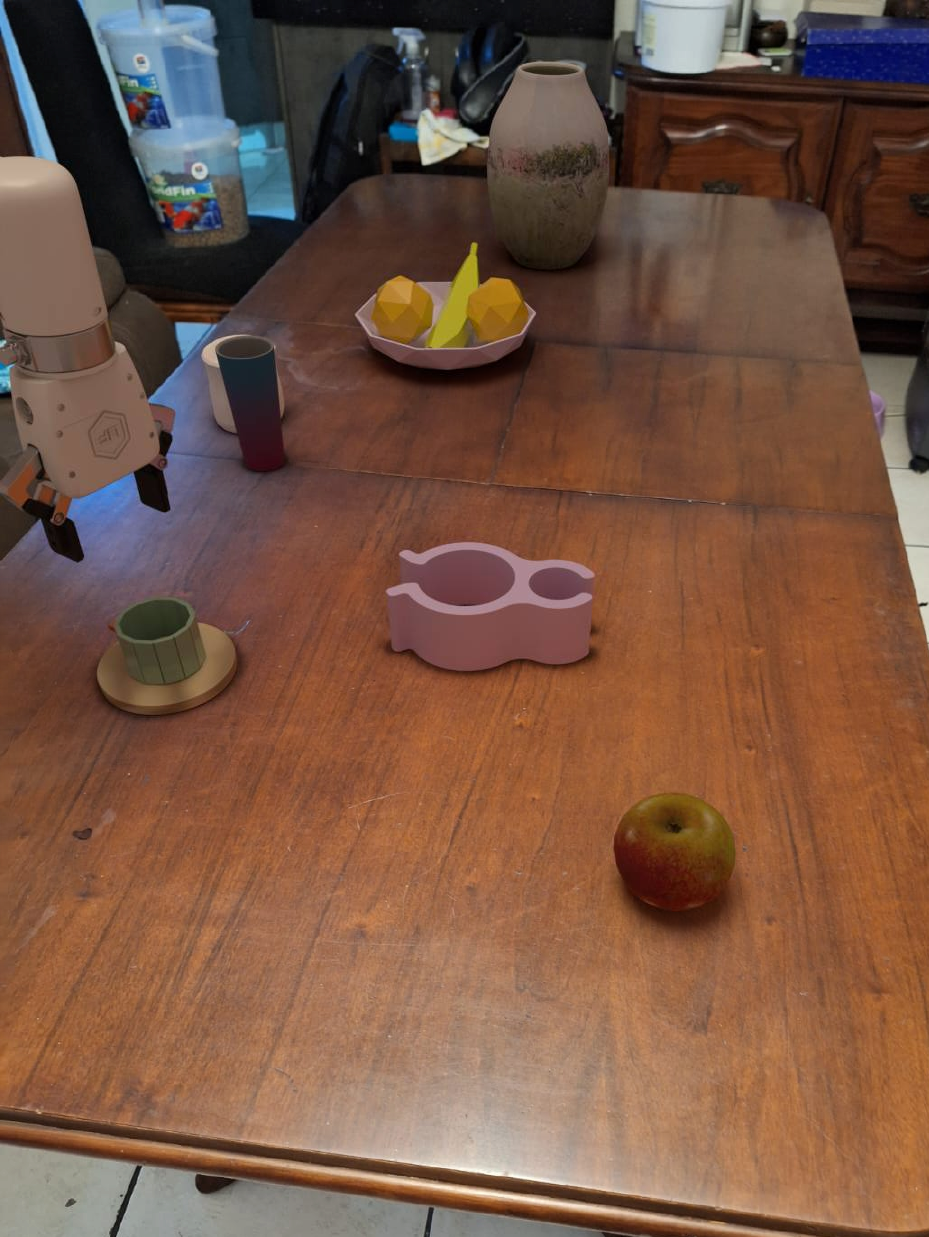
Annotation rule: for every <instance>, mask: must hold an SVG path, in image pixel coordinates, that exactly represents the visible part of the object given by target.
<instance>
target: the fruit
mask: <svg viewBox="0 0 929 1237" xmlns="http://www.w3.org/2000/svg"><path fill="white" fill-rule="evenodd" d="M733 834H734V833H733V832H732V828H731V826H730V825H729V822H727V819H725V817H724V816H723V815H722V813H721V812H719V811H718V810H717V809H716V808H715V807H714V806H713V805H711V804H710V803H708V802H707V801H705V800H703V799H701V798H699V797H697V796H694V795H690V794H687V793H682V792H661V793H657V794H652V795H650V796H648V797H645V798H643V799H641V800H639V801H638V802H636V803H634V805H632V806H631V807H630V808H629V809H628V810H627V811H626V812H625V813H624V814H623V816H622V817H621V819H620V821H619V823H618V825H617V827H616V829H615V833H614V837H613V854H614V861H615V865H616V868H617V871H618V873H619V875H620V877H621V879H622V881H623V883H624V884H625V886H626V887H627V888H628V890H629V891H630V892H631V893H632V894H633V895H634V896H636V897H637V899H639V900H640V901H642V902H644V903H646V904H648V905H649V906H652V907H654V908H657V909H661V910H665V911H670V912H681V911H688V910H693V909H696V908H699V907H701V906H703V905H705V904H707V903H708V902H710V901H712V900H714V899H715V898H716V897H717V896H718V895H720V893H721V892H722V891H723V890H724V889H725V887H726V886H727V884H728V883H729V881H730V879H731V877H732V874H733V871H734V868H735V863H736V843H735V841H736V840H735V837H734V835H733Z"/></svg>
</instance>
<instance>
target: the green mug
mask: <svg viewBox="0 0 929 1237" xmlns="http://www.w3.org/2000/svg"><path fill="white" fill-rule="evenodd" d="M197 622H198V618H197V616H196V613H195V611H194V609H193V606H192V605H191V604H190V603H189V602H187V601H185V600H183V599H181V598H178V597H175V596H174V597H173V596H154V597H150V598H146V599H142V600H137V601H136V602H133V603H132V604H131V605H129V606H127V607H126V608H124V609H122V610H121V611H120V612H119V614H117V617H116V618H115V619H113V620H112V621H110V622H109V623H107V627H108V630H109V631H111V632H114V633H115V634H116V637H117V641H118V640H119V643H120V646H121V649H122V652H123V655H124V658H125V661H126V664H127V667H128V670H129V673H130V675H131V676H132V677H133V678H135V679H137V680H139V681H141V682H143V683H146V684H162V685H164V684H165V683H166V684H169V683H173V682H176V681H180V680H183V679H185V678H187V677H189V676H190V675H192V674H193V673H194V672H196V671H197V670H199V669H200V667H201V666H202V663H203V661H204V659H205V657H206V653H205V650H204V646H203V642H202V638H201V634H200V630H199V627H198V623H197Z"/></svg>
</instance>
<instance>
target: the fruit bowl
mask: <svg viewBox="0 0 929 1237" xmlns="http://www.w3.org/2000/svg"><path fill="white" fill-rule="evenodd" d="M478 249H479V244H478V243H477V242H474V241H473V242H472V243H471V244H470V249H469V254H468V255H467V257H466V258H465V259H464V261H463V263H462V265H461V267H459V269H458V271H457V273H456V275H455V276H454V278H453V280H452V281H418V282H415V281H413V280H411V279H409V278H407V277H404V276H403V275H400V274H399V275H398V276H396V277H394V278H392V279H390V280H387V281H386V282H384V283H383V284H382V285H380V286H379V287H378V288H377V291H376V293H374V294H373V295H372V296H371V297H370V298H369V299H368V300H367V301H366V302H365V304H363V305H362V306H361V307H360V308H359V309H358V310H357V311H356V312H355V313H354V316H355V317H356V319H357V321H358V323H359V324H360V326H361V328H362V330H363V332H364V333H365V336H366V337H367V339H368V340H369V343H370V344H371V346H372V348H373V349H375V350H376V351H379V352H380V353H382V354H384V355H385V356H387V357H388V358H390V359H392V360H395V361H396V362H398V363H401V364H405V365H409V366H412V367H415V368H419V369H429V370H430V369H431V370H445V371H448V370H449V371H451V370H461V369H472V368H478V367H481V366H484V365H487V364H488V365H489V364H490V363H494V362H497V361H498V360H500V359H502V358H503V357H505V356H507V355H508V354H510V353H512V352H514V350H517V349H518V348H521V346H522V344H523V341H524V339H525V338H526V336H527V333H528V331H529V329H530V327H531V325H532V323H533V321H534V319H535V317H536V315H537V312H536V310H534V309H533V308H532V307H531V306H530V305H529V304H528V303H527V302H526V301H525V300H524V297H523V295H522V292H521V289H520V288H519V287H518V286H517V285H516V284H515V283H514V282H513V281H512V280H511V279H508V278H500V277H490V278H489V279H487V280H486V281H485V282H484V283H480V270H479V269H480V268H479V258H478V256H477V255H478Z"/></svg>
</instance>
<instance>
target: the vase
mask: <svg viewBox="0 0 929 1237" xmlns="http://www.w3.org/2000/svg"><path fill="white" fill-rule="evenodd" d="M486 162H487V163H486V176H487V177H486V178H487V179H486V180H487V190H488V199H489V204H490V209H491V214H492V217H493V220H494V224H495V227H496V229H497V232H498V234H499V237H500V238H501V240H502V243H503V244H504V246H505V248H506V249H507V251H508V252H509V254H510V255H511V257H512V258H513V259H514V260H515V262H517V263H518V264H519V265H521V266H524V267H527V268H530V269H534V270H535V269H536V270H548V271H549V270H552V271H553V270H559V269H565V268H568V267H572V266H573V265H574V264H576V263H577V262H578V261H579V260H580V259H581V258H582V256H584V254H585V252H586V251H587V249H588V248H589V247H590V245H591V243H592V241H593V239H594V238H595V235H596V233H597V230H598V228H599V225H600V224H601V223H600V222H601V220H602V217H603V213H604V209H605V205H606V201H607V196H608V190H609V184H610V183H609V181H610V141H609V132H608V127H607V124H606V120H605V118H604V115H603V113H602V111H601V108H600V106H599V104H598V102H597V100H596V98H595V96H594V94H593V92H592V90H591V87H590V86H589V83H588V78H587V76H586V71H585V70H584V68H583V67H581V66H579V65H577V64H573V63H568V62H561V61H533V62H532V61H531V62H527V63H523V64H521V65H519V66H518V67H517V68H516V70H515V72H514V76H513V79H512V81H511V84H510V85H509V88H508V90H507V91H506V93H505V95H504V97H503V99H502V100H501V102H500V103H499V106H498V107H497V110H496V112H495V114H494V117H493V118H492V122H491V125H490V130H489V137H488V148H487V161H486Z"/></svg>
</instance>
